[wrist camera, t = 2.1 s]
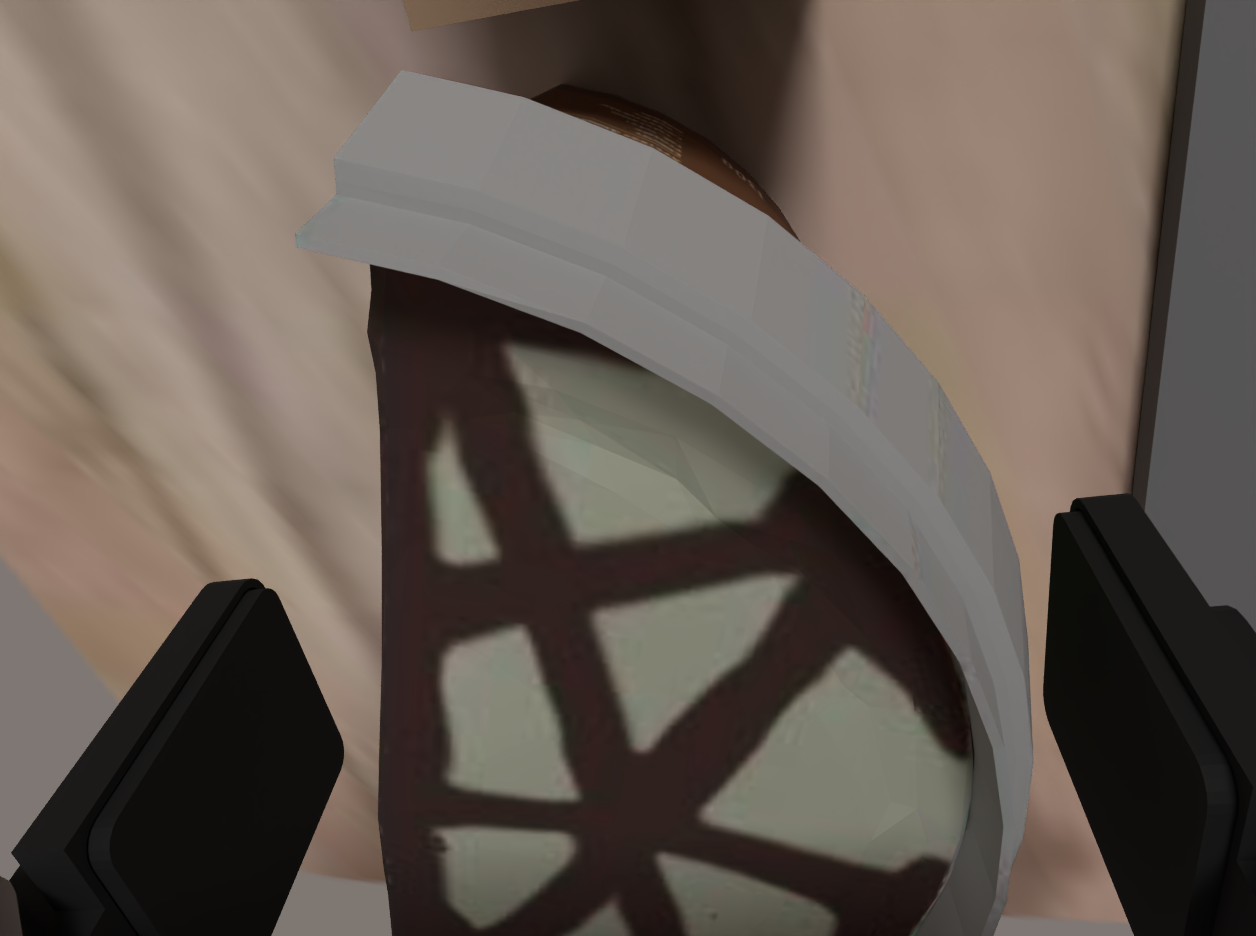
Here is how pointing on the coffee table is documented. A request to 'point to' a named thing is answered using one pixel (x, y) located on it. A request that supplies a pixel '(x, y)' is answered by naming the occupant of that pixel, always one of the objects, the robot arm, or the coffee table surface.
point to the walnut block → (465, 10)
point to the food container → (664, 549)
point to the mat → (1207, 317)
